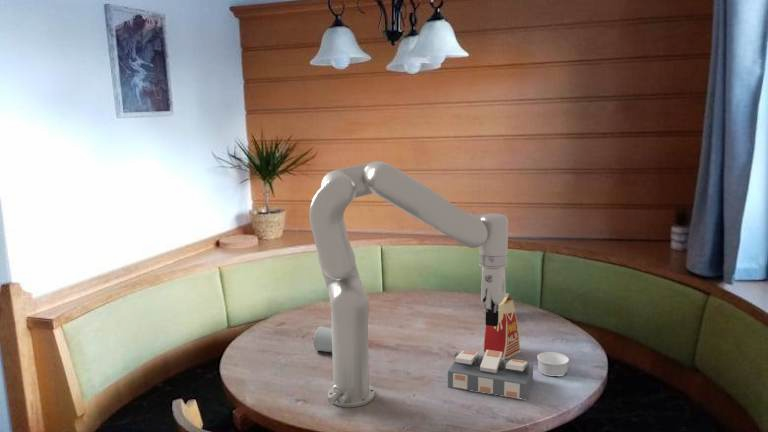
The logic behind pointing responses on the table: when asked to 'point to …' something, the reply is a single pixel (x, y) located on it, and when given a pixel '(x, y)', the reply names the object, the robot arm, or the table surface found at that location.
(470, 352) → the rocker
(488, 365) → the block
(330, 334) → the ceramic mug
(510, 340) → the milk carton
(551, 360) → the ramekin
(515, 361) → the rocker
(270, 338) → the table surface
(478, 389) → the switch unit
